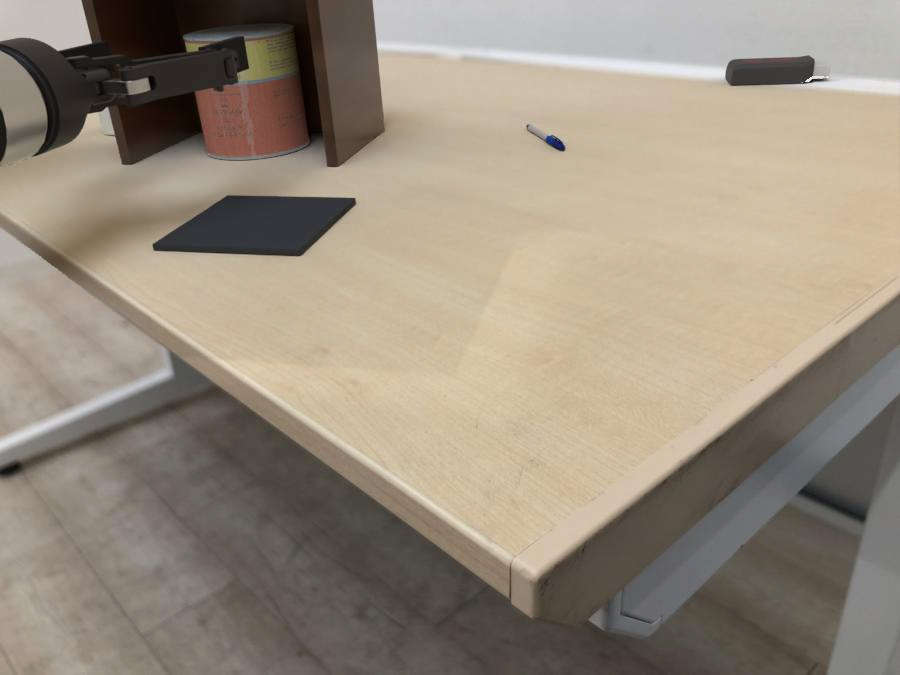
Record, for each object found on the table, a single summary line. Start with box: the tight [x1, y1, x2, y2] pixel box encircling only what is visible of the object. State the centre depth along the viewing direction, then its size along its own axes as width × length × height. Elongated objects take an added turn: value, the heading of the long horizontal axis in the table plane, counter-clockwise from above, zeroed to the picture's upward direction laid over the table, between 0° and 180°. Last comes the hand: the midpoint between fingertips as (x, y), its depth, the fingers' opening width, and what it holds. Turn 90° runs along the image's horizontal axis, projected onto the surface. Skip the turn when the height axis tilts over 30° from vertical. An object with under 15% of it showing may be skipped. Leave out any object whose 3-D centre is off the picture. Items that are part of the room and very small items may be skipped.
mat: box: [151, 194, 357, 257], centre depth 64 cm, size 12×12×1 cm
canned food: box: [183, 24, 311, 161], centre depth 85 cm, size 11×11×12 cm
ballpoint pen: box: [525, 124, 566, 151], centre depth 84 cm, size 10×1×1 cm, turn 16°
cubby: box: [80, 0, 386, 167], centre depth 83 cm, size 24×15×22 cm, turn 76°
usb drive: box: [724, 55, 832, 86], centre depth 103 cm, size 5×12×3 cm, turn 81°
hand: (174, 54), depth 72 cm, fingers open, 13 cm apart
